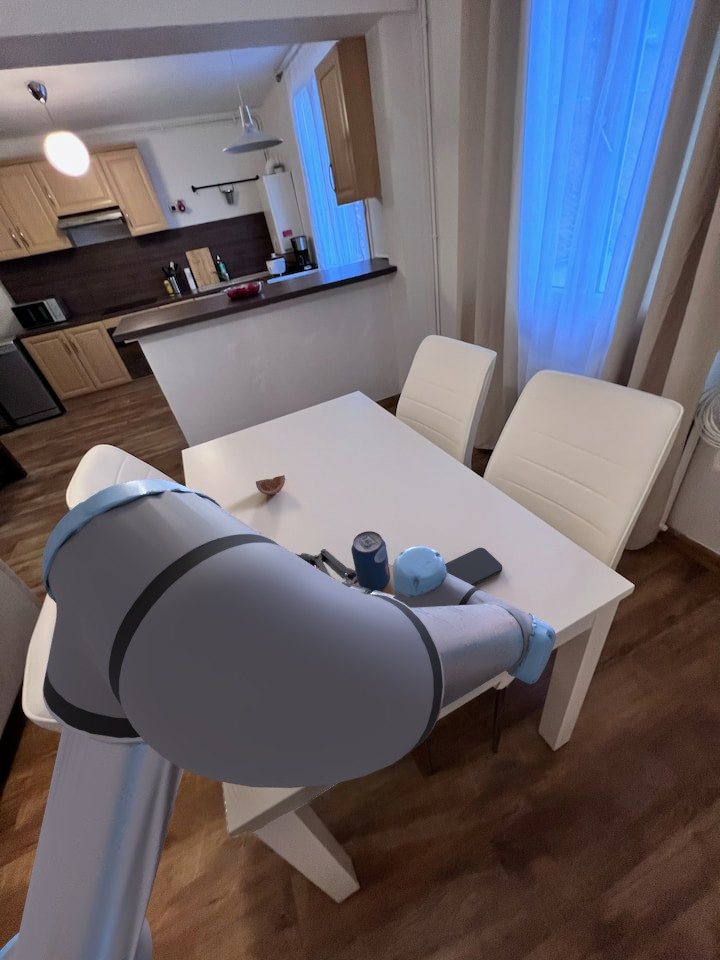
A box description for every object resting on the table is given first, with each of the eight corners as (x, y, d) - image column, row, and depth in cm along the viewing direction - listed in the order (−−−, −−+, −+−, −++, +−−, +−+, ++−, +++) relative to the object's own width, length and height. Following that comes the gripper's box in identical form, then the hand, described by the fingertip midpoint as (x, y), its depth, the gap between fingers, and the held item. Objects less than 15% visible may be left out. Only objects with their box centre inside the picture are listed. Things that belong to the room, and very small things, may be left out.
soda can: (397, 584, 84) (392, 543, 77) (368, 600, 81) (360, 560, 74) (380, 564, 89) (373, 524, 82) (352, 578, 87) (343, 538, 80)
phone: (423, 573, 85) (481, 545, 88) (423, 576, 85) (481, 548, 89) (443, 598, 79) (505, 567, 83) (443, 601, 79) (504, 570, 83)
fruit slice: (287, 482, 121) (283, 468, 118) (289, 495, 115) (284, 481, 112) (260, 488, 120) (255, 475, 117) (260, 502, 114) (255, 488, 112)
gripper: (339, 692, 62) (231, 650, 70) (394, 572, 80) (302, 550, 88) (330, 666, 57) (217, 625, 66) (390, 545, 75) (295, 525, 84)
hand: (265, 582), depth 77 cm, fingers open, 13 cm apart
